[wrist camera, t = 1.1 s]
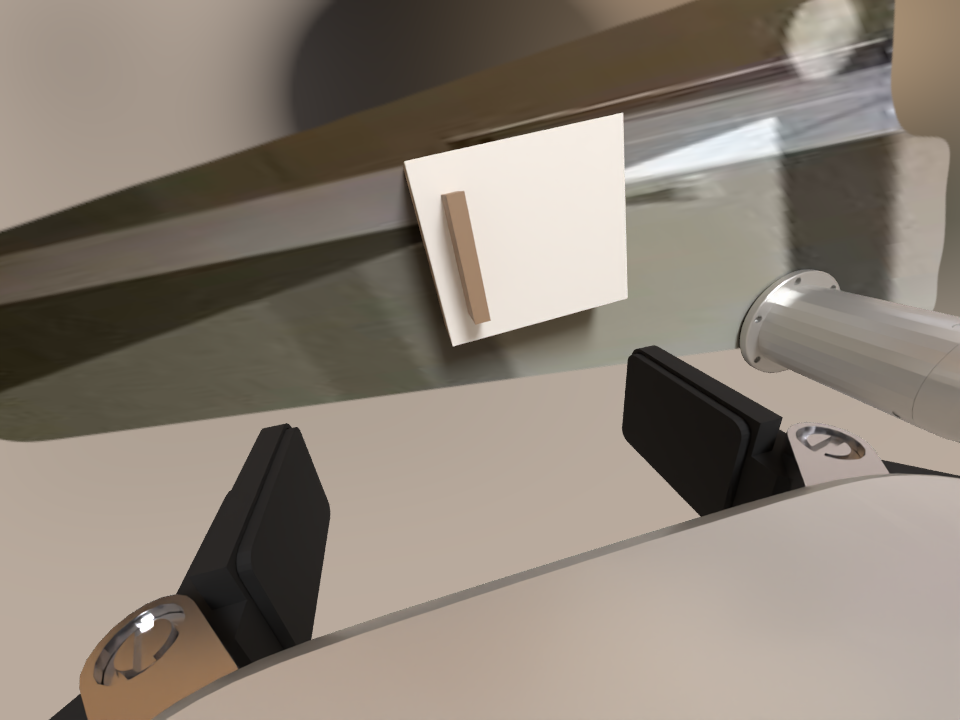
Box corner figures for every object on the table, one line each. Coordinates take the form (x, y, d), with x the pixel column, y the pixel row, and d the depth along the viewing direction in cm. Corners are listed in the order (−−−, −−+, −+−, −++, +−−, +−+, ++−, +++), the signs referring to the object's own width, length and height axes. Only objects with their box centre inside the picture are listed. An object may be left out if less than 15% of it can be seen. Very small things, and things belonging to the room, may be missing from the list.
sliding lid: (617, 114, 27) (648, 103, 24) (622, 295, 33) (648, 307, 30) (404, 162, 25) (405, 157, 22) (451, 343, 32) (458, 361, 28)
